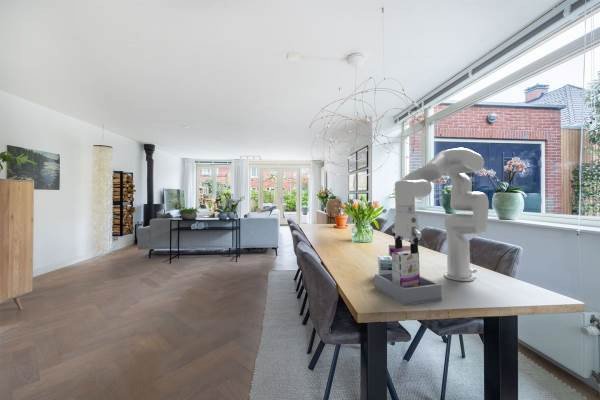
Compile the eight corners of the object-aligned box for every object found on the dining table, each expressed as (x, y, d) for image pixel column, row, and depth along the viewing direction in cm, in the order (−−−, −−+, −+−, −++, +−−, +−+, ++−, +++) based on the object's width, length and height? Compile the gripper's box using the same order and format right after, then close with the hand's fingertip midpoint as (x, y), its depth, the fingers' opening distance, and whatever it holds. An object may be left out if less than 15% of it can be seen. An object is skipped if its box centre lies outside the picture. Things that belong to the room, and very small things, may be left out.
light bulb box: (395, 283, 120) (394, 260, 120) (380, 282, 122) (380, 259, 122) (391, 276, 131) (391, 255, 131) (378, 275, 132) (377, 254, 132)
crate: (407, 283, 119) (406, 270, 119) (441, 300, 100) (441, 284, 100) (374, 287, 114) (374, 274, 114) (404, 305, 95) (404, 289, 95)
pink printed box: (387, 273, 136) (387, 245, 136) (396, 271, 140) (396, 243, 140) (407, 278, 126) (406, 248, 126) (416, 276, 130) (415, 246, 130)
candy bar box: (410, 286, 112) (410, 249, 112) (420, 290, 107) (419, 251, 107) (391, 291, 107) (390, 252, 107) (400, 295, 103) (400, 254, 102)
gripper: (428, 210, 99) (429, 254, 100) (399, 208, 116) (400, 246, 116) (411, 211, 97) (413, 256, 98) (385, 209, 114) (386, 247, 114)
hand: (406, 250), depth 107 cm, fingers open, 9 cm apart
